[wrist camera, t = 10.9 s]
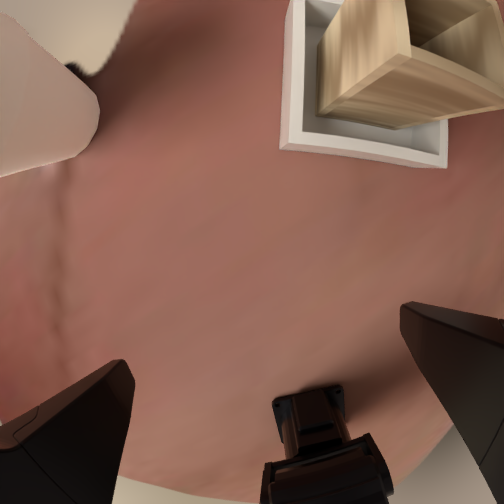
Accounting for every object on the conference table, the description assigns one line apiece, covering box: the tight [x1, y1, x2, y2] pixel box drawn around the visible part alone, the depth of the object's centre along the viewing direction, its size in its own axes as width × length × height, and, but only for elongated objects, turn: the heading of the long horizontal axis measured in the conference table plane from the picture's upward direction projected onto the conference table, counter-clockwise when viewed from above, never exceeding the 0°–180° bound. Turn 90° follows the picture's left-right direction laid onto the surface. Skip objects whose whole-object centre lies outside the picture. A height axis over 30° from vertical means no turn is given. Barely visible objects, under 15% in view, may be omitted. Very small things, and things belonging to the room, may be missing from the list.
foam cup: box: [0, 12, 100, 177], centre depth 12 cm, size 10×9×13 cm
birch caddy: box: [315, 0, 504, 130], centre depth 12 cm, size 6×6×12 cm
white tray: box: [279, 0, 448, 169], centre depth 16 cm, size 10×10×4 cm
